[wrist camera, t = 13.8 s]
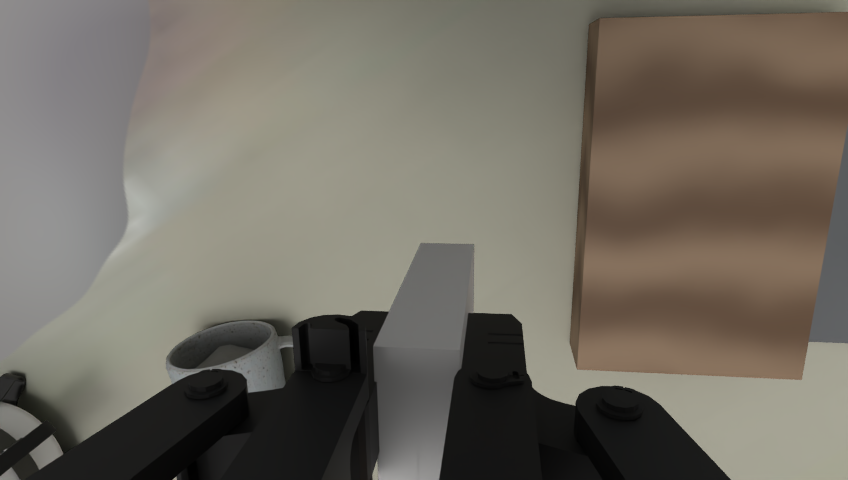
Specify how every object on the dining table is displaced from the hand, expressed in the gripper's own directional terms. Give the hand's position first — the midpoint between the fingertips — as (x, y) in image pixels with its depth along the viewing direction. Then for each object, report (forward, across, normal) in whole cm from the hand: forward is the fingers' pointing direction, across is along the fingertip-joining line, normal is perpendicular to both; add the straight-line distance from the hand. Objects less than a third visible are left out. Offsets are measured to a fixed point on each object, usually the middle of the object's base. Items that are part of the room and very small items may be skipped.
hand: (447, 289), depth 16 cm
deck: (+24, +14, -2) cm, 28 cm away
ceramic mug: (+25, -16, -16) cm, 34 cm away
